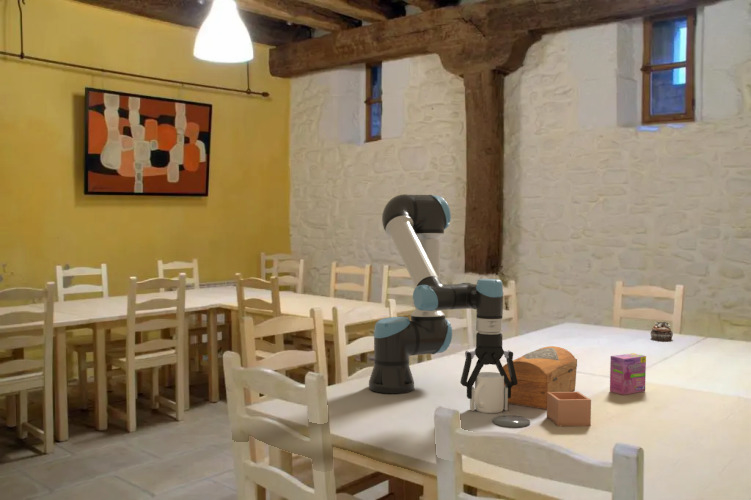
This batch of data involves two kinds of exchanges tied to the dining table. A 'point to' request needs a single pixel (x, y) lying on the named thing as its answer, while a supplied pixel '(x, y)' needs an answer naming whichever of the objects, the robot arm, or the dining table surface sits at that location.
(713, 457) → the dining table surface
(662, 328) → the cupcake
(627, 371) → the box
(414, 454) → the dining table surface
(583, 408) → the planter
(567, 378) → the wooden box
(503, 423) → the slate coaster
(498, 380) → the mug
